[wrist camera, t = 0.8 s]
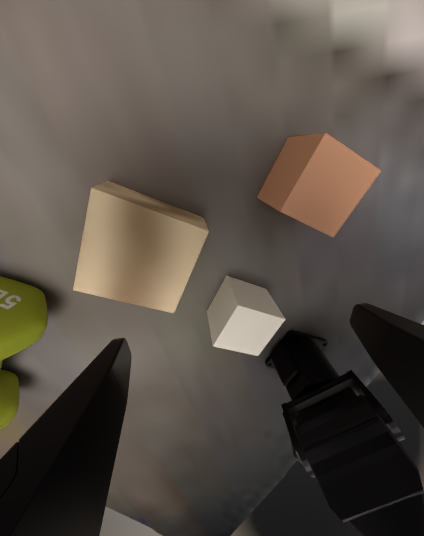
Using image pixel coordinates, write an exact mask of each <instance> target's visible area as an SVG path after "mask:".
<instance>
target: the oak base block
mask: <svg viewBox="0 0 424 536" xmlns="http://www.w3.org/2000/svg"><path fill="white" fill-rule="evenodd" d="M208 233H209V230H208V227H207V225H206V222H205V220H204V218H203V217H200V216H198V215H195V214H193V213H190V212H187V211H185V210H182V209H180V208H177V207H175V206H172V205H169V204H167V203H164V202H162V201H159V200H157V199H154V198H151V197H149V196H146V195H144V194H141V193H139V192H136V191H134V190H131V189H128V188H126V187H123V186H121V185H118V184H116V183H113V182H110V181H106V182H104V183H101V184H99V185H97V186H94V187H92V188H91V193H90V198H89V204H88V209H87V215H86V221H85V226H84V232H83V237H82V243H81V249H80V254H79V260H78V266H77V271H76V277H75V282H74V288H73V290H75V291H79V292H83V293H88V294H92V295H96V296H101V297H105V298H109V299H114V300H118V301H122V302H127V303H131V304H135V305H140V306H144V307H148V308H153V309H157V310H161V311H166V312H170V313H174V312H175V309H176V307H177V305H178V302H179V300H180V298H181V296H182V293H183V291H184V289H185V286H186V284H187V282H188V279H189V277H190V275H191V272H192V270H193V268H194V265H195V263H196V261H197V258H198V256H199V254H200V252H201V249H202V247H203V245H204V242H205V240H206V238H207V235H208Z"/></svg>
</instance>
